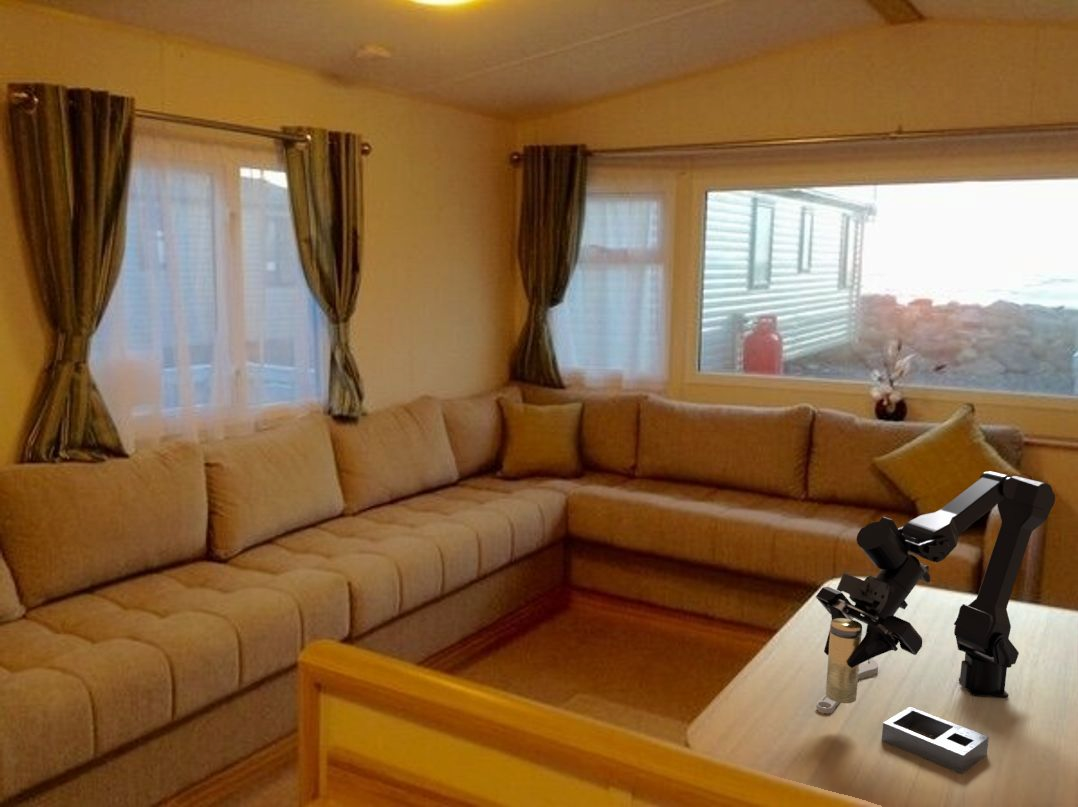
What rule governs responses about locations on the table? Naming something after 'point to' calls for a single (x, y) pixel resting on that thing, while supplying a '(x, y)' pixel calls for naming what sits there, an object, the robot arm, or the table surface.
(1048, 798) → the table surface
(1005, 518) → the robot arm
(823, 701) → the adjustable wrench
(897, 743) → the grey rectangular holder
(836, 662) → the gold tin can
